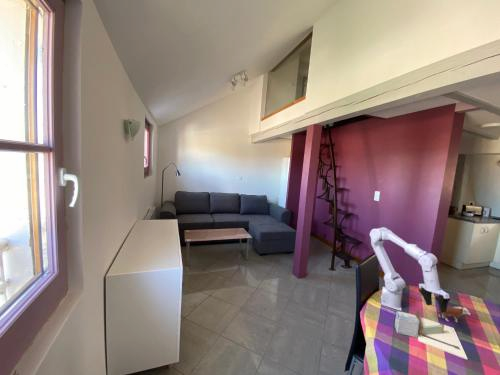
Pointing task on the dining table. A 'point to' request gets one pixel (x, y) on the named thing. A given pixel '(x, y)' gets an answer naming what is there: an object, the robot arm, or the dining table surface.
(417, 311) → the fixed fence section
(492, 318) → the dining table surface
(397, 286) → the robot arm
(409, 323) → the medicine box
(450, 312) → the bull figurine
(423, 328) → the hinged fence panel
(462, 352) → the board
